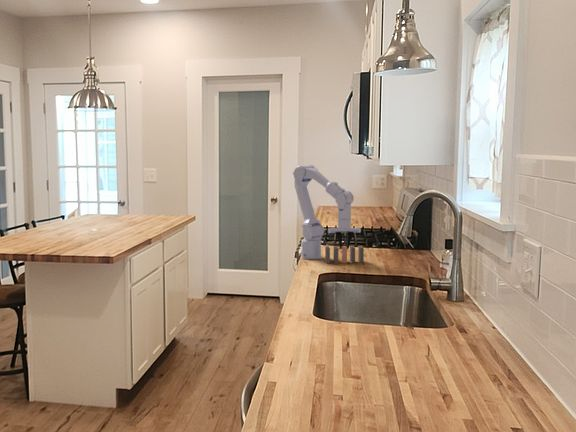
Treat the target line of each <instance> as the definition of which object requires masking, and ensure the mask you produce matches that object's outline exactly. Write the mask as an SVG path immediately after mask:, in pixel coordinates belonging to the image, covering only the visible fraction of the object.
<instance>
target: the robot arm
mask: <svg viewBox="0 0 576 432" xmlns="http://www.w3.org/2000/svg"><path fill="white" fill-rule="evenodd" d="M292 175H293V179H294V189H295V192H296V196H297V199H298V203H299V206H300V210H301V213H302V217H303V220H304V221H303V223H302V224H301V227H302V236H303V237H304V239H301V251H300V255H301V259H302V260H323V256H322V237H323V236H324V234H325V228H324V226H323V225H322V224H321V221H320V219H318V218H316V213H315V211H314V207H313V203H312V200H311V197H310V193H309V190H308V185H309V183H310V182H312V180H314V181H315V182H316V183H318V184H320V185H321V186H322V187H324V188H325V192H326V193H327V194H329V196H331V197H332V198H333V199H335V202H336V204H337V227H331V228H329V227H328V228H327V234H334V235H335V236H336V238H337V241H338V245H339V249H340V250H342V246H343V242H342V241H343V240H342V239H343V234H346V244H345V246H346V247H347V250H350V246H351V245H350V244H351V242H352V239H353V237H354V234H355V233H356V234H357V233H359V234H361V232H362V230H361V229H362V228H360V227H352V226H351V225H352V220H351V219H352V204H353V202H354V198H355V197H354V195H353V193H352V192H351V191H349V190H348V191H347V190H346V189H345V188H343V187H342V186H340V185H338V184H339V183H338V182H336V181H330V180H329V179H328V178H326V177H325V176H324V175H323V174H322V173H321V172H320V171H319V169H318V168H317V167H315V166H314V165H313V164H310V165H297V166H295V169H294V170H293V172H292Z"/></svg>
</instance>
